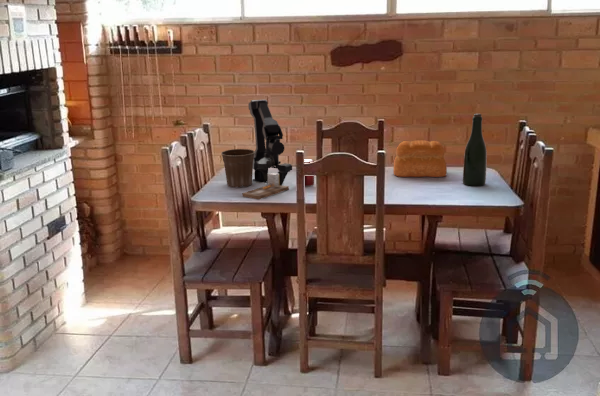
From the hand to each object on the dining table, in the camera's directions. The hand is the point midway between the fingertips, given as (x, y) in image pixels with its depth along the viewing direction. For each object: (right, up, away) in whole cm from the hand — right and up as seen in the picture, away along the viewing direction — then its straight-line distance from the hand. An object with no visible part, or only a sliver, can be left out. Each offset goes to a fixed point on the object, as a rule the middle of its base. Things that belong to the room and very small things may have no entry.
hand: (273, 184), depth 286 cm
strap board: (-3, -4, -3) cm, 6 cm away
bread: (+73, +5, +26) cm, 78 cm away
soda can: (+16, 0, +9) cm, 18 cm away
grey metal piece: (-2, -2, -2) cm, 3 cm away
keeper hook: (+3, -1, +3) cm, 4 cm away
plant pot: (-17, 0, +13) cm, 21 cm away
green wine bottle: (+94, 0, +4) cm, 94 cm away
